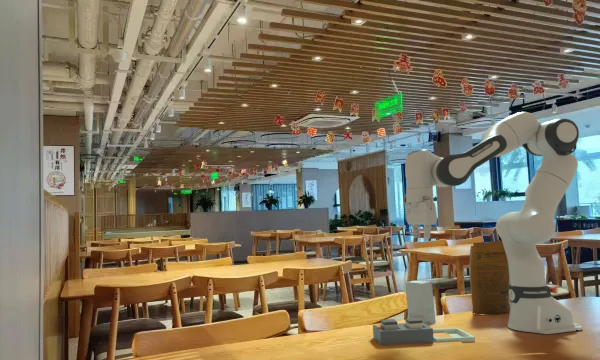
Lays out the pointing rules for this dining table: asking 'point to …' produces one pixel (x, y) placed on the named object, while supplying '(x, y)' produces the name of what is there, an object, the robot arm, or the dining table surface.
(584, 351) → the dining table surface
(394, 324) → the twin plug
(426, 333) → the grey socket block
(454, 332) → the tray
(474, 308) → the pancake mix bag
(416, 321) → the plug
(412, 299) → the skincare box
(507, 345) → the dining table surface
